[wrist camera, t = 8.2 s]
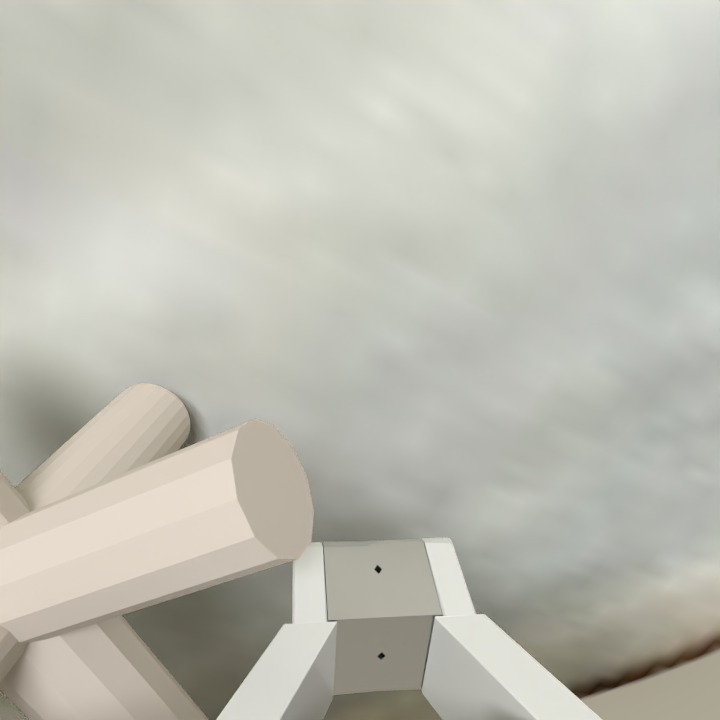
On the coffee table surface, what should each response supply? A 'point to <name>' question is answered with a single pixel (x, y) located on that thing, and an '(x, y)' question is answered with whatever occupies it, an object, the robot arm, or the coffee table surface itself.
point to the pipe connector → (133, 550)
